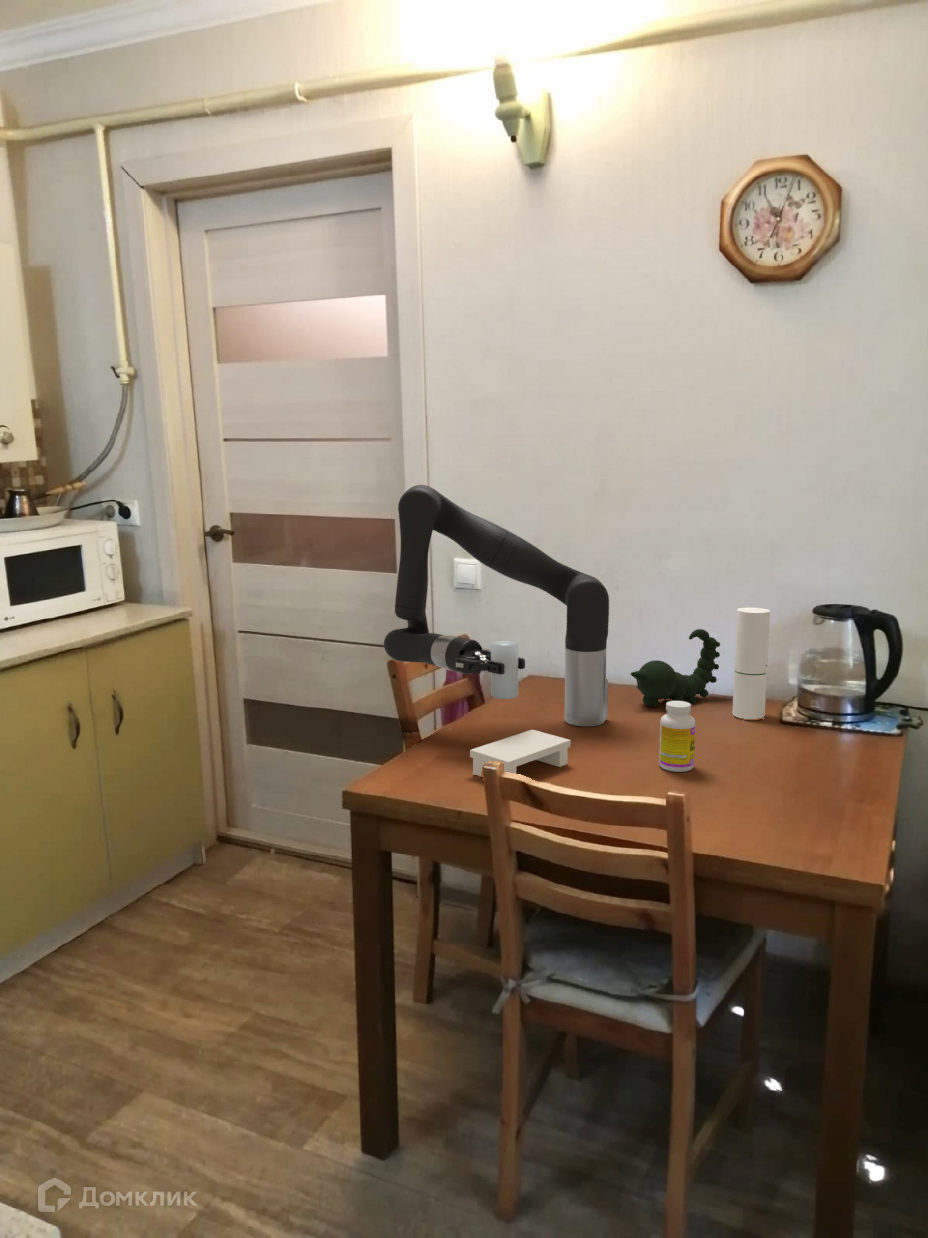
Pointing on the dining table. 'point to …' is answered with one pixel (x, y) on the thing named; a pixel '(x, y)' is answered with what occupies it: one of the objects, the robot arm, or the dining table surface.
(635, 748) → the dining table surface
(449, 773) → the dining table surface
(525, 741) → the white riser stand
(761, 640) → the cylindrical container
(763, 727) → the dining table surface
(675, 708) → the supplement bottle
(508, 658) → the white rounded cylinder
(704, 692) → the toy figurine
